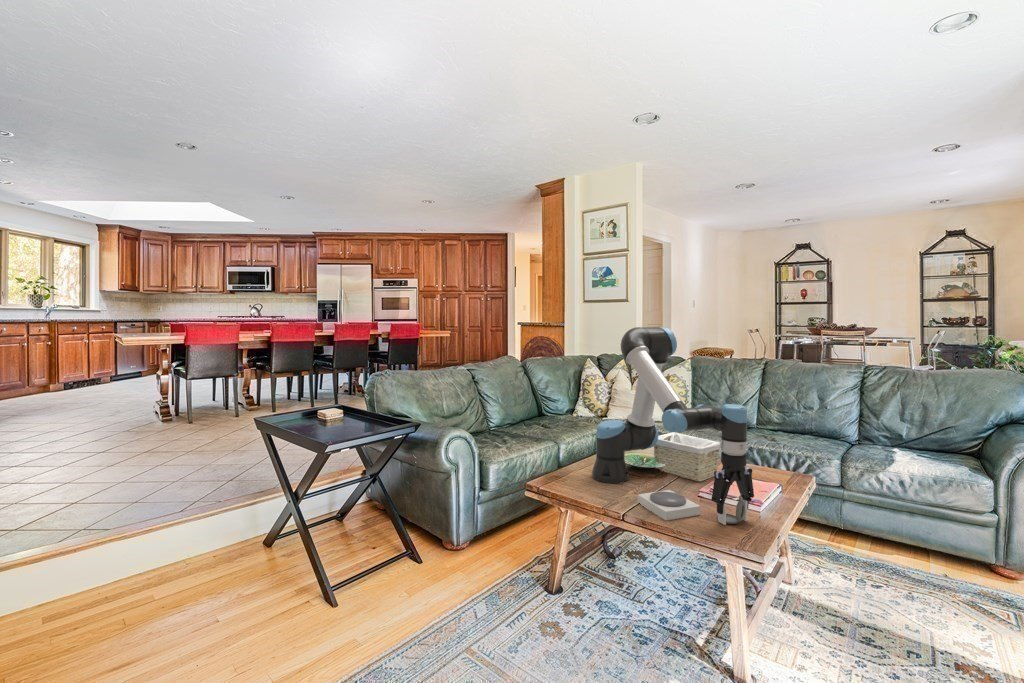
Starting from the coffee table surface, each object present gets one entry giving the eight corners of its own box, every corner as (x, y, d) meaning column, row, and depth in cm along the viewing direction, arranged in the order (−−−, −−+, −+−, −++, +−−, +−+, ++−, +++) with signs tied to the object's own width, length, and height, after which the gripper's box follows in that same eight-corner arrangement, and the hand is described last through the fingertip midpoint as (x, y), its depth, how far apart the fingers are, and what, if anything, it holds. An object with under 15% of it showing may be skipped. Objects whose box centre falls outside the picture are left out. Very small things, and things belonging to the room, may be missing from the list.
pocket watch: (714, 516, 157) (715, 486, 156) (740, 517, 156) (741, 487, 155) (722, 526, 149) (723, 496, 148) (750, 528, 148) (751, 497, 147)
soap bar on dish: (637, 502, 168) (637, 492, 168) (669, 497, 173) (669, 487, 173) (665, 520, 153) (665, 509, 153) (700, 514, 158) (700, 503, 158)
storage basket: (650, 469, 206) (650, 436, 206) (672, 462, 216) (672, 431, 215) (700, 484, 187) (700, 448, 186) (721, 476, 197) (722, 441, 196)
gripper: (716, 459, 144) (715, 530, 145) (768, 452, 151) (766, 521, 152) (699, 452, 151) (698, 521, 152) (749, 446, 158) (747, 512, 159)
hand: (732, 520), depth 152 cm, fingers closed on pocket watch, 8 cm apart
